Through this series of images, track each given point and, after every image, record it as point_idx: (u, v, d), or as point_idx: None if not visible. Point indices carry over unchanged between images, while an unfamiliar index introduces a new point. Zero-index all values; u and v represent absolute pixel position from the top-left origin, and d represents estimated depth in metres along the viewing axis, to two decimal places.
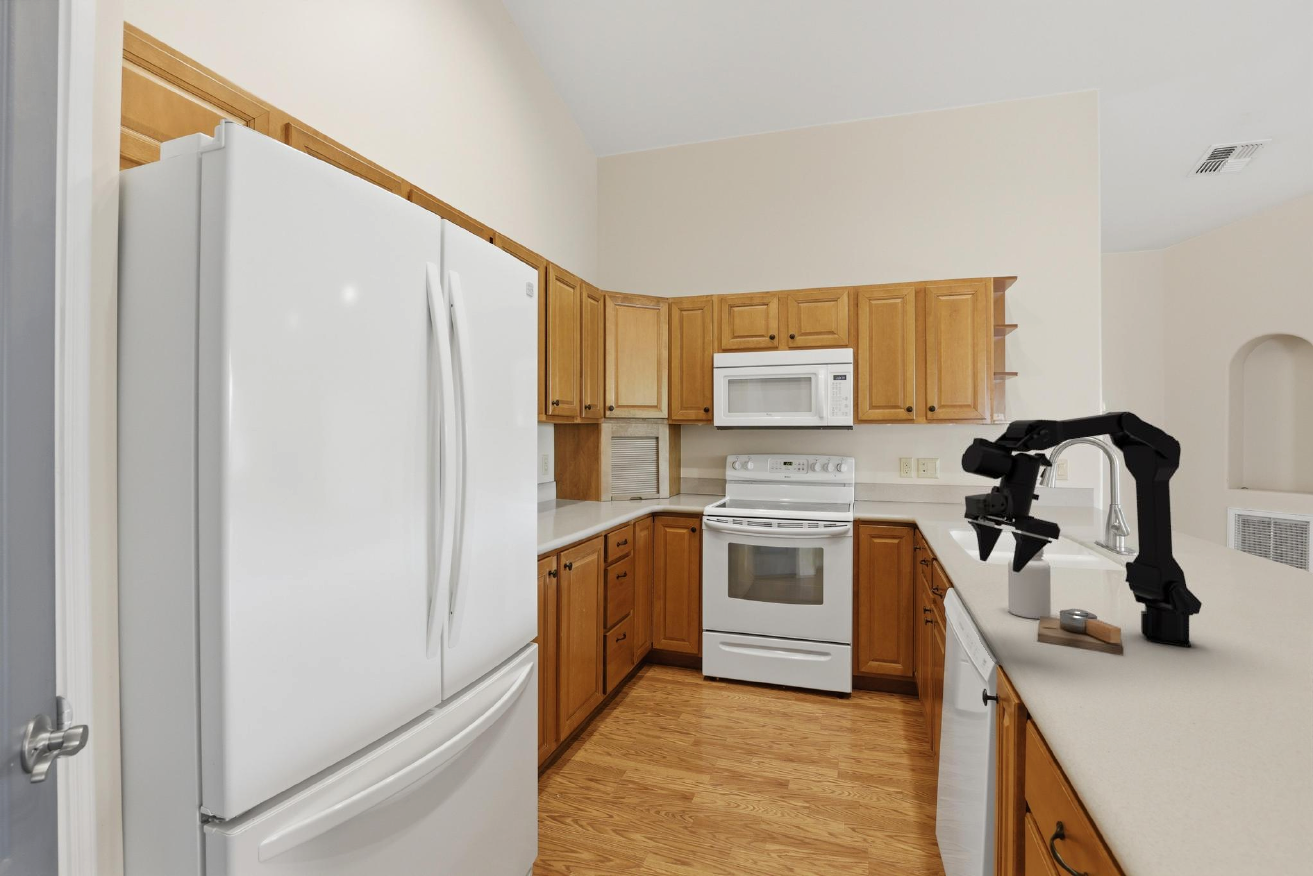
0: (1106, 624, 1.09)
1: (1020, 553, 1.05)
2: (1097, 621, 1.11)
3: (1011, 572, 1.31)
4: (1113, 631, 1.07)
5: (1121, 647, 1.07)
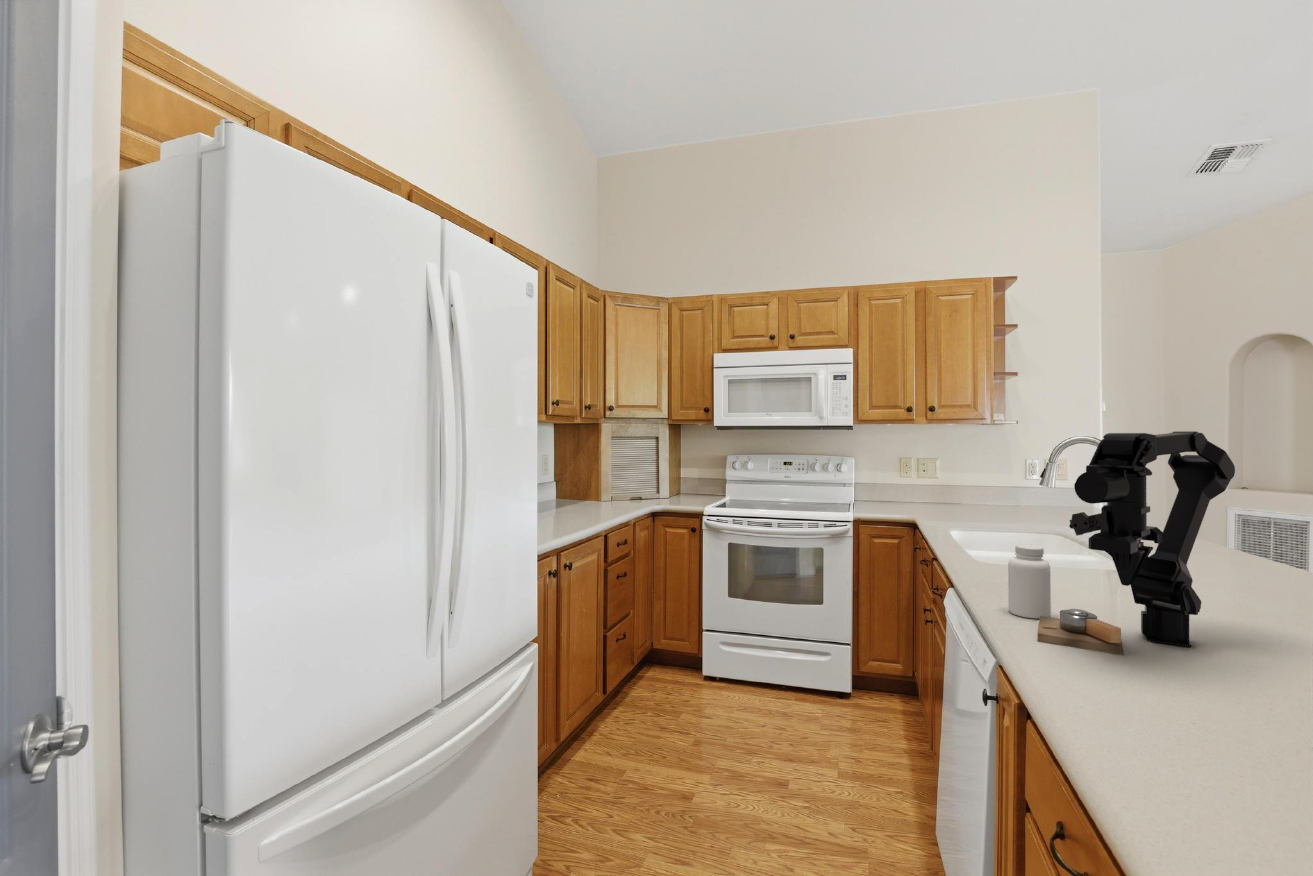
0: (1106, 624, 1.09)
1: (1117, 566, 1.09)
2: (1097, 621, 1.11)
3: (1011, 572, 1.31)
4: (1113, 631, 1.07)
5: (1121, 647, 1.07)
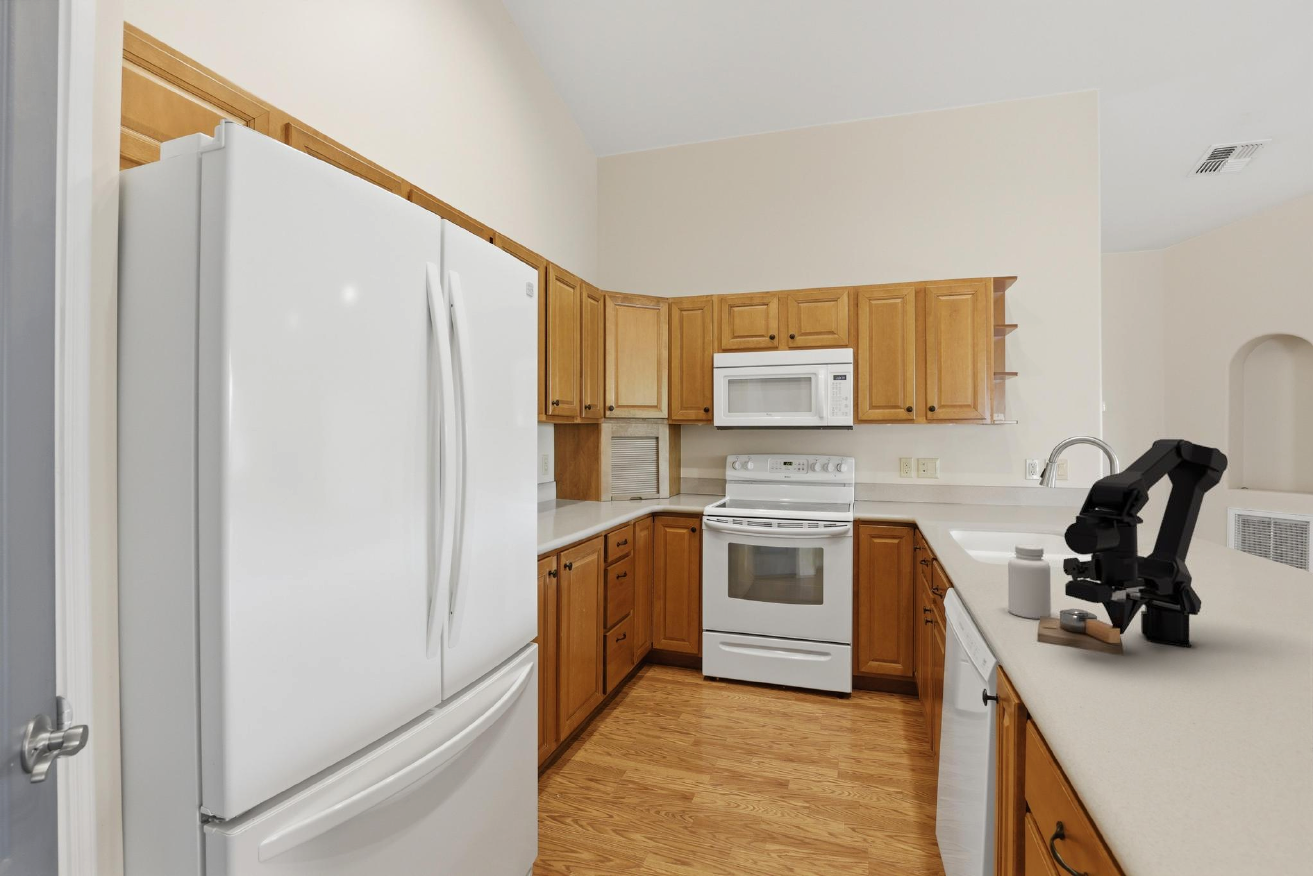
0: (1105, 624, 1.09)
1: (1109, 614, 1.09)
2: (1096, 621, 1.11)
3: (1011, 572, 1.31)
4: (1112, 631, 1.07)
5: (1121, 647, 1.07)
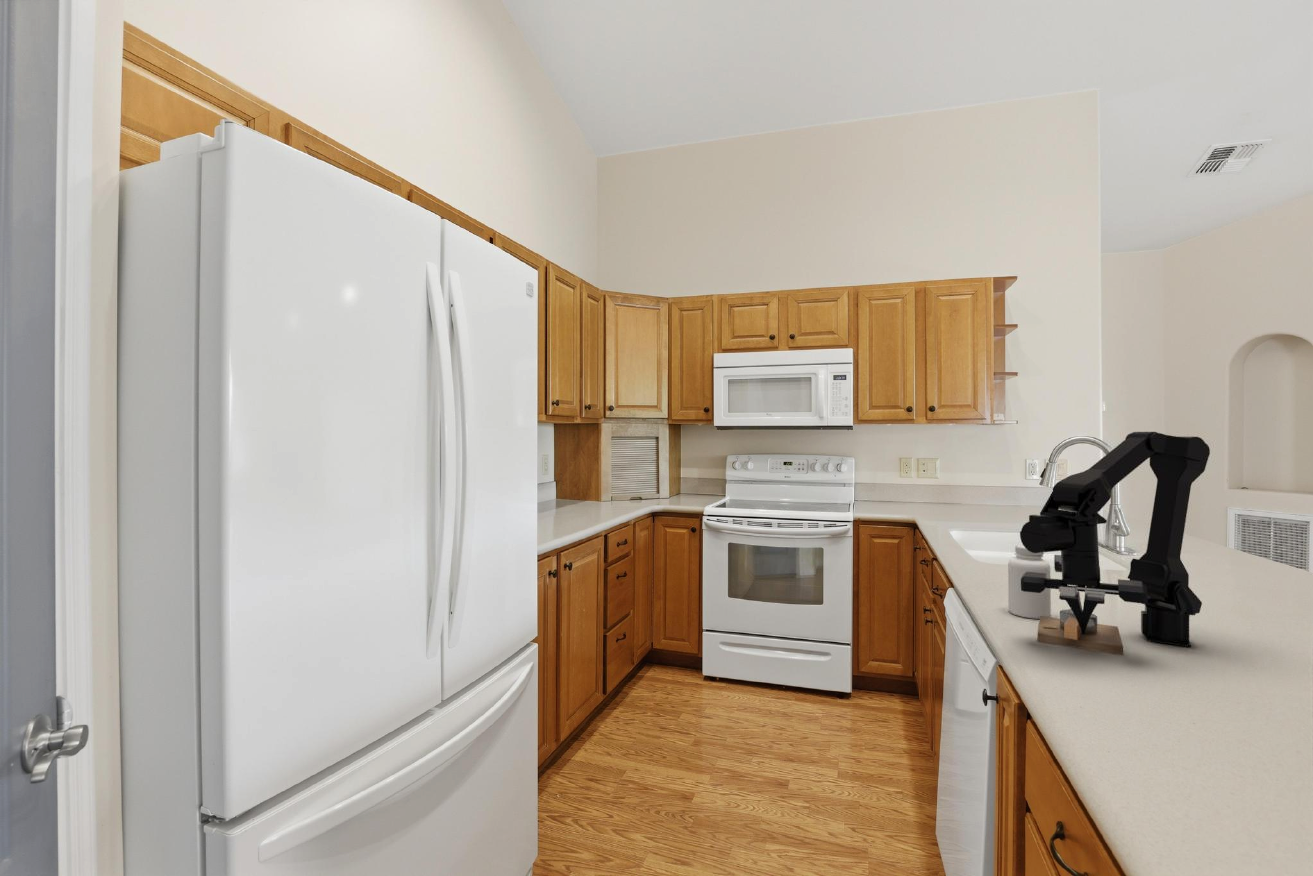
0: (1072, 622, 1.11)
1: None
2: (1074, 619, 1.13)
3: (1011, 572, 1.31)
4: (1067, 627, 1.10)
5: (1121, 647, 1.07)
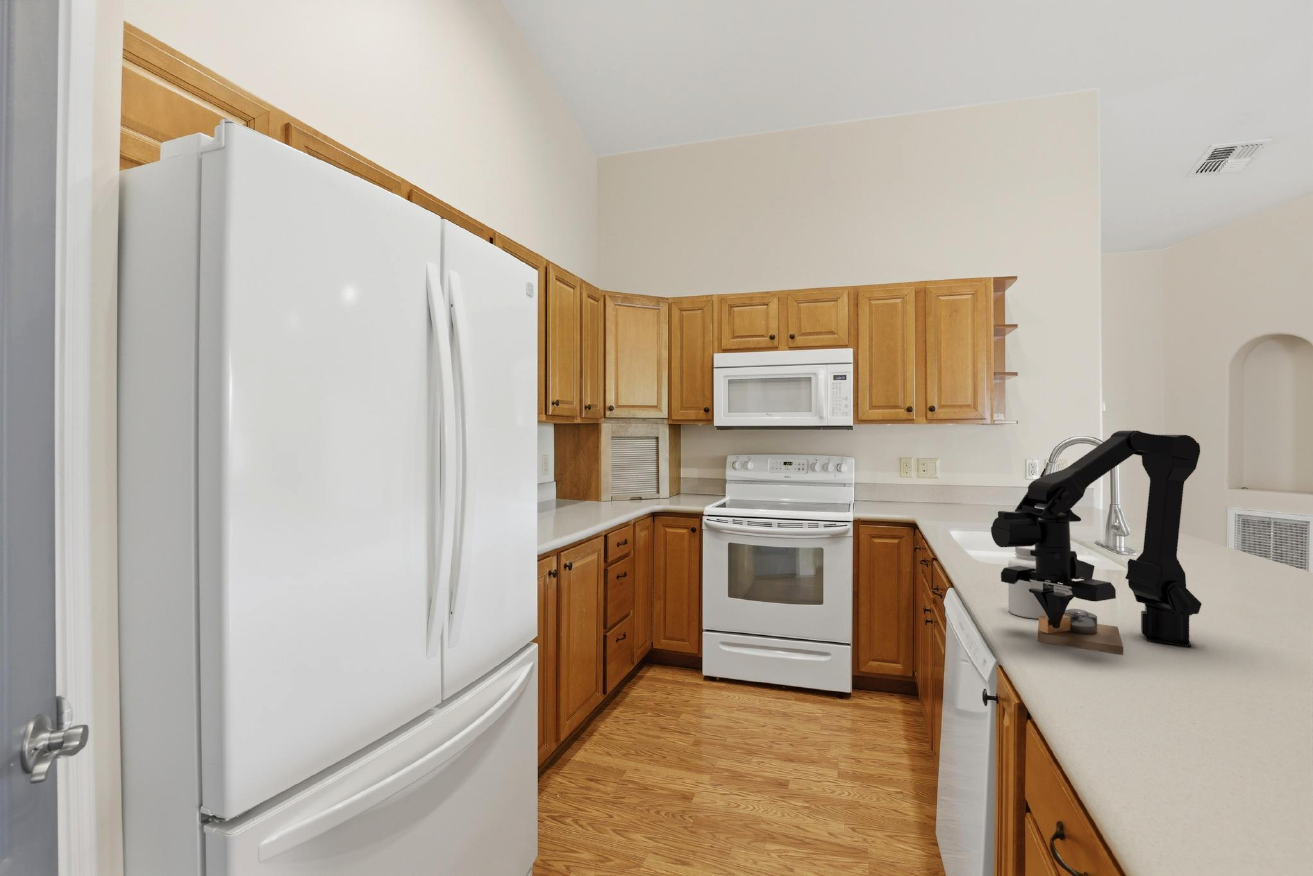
0: None
1: None
2: None
3: None
4: (1041, 620, 1.14)
5: (1121, 647, 1.07)
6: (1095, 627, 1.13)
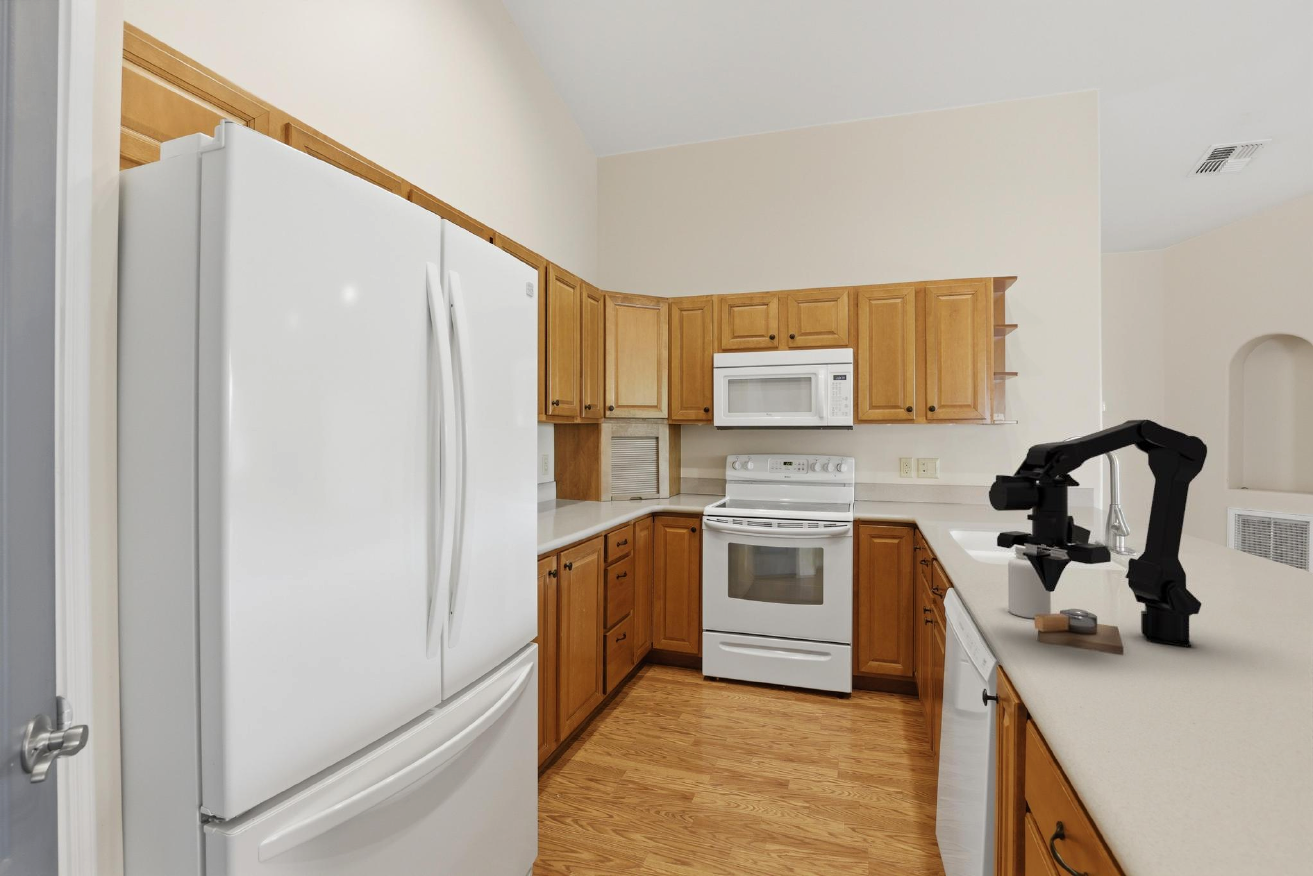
0: (1048, 615, 1.15)
1: None
2: (1057, 615, 1.15)
3: (1011, 572, 1.31)
4: (1036, 618, 1.15)
5: (1121, 647, 1.07)
6: (1094, 627, 1.13)
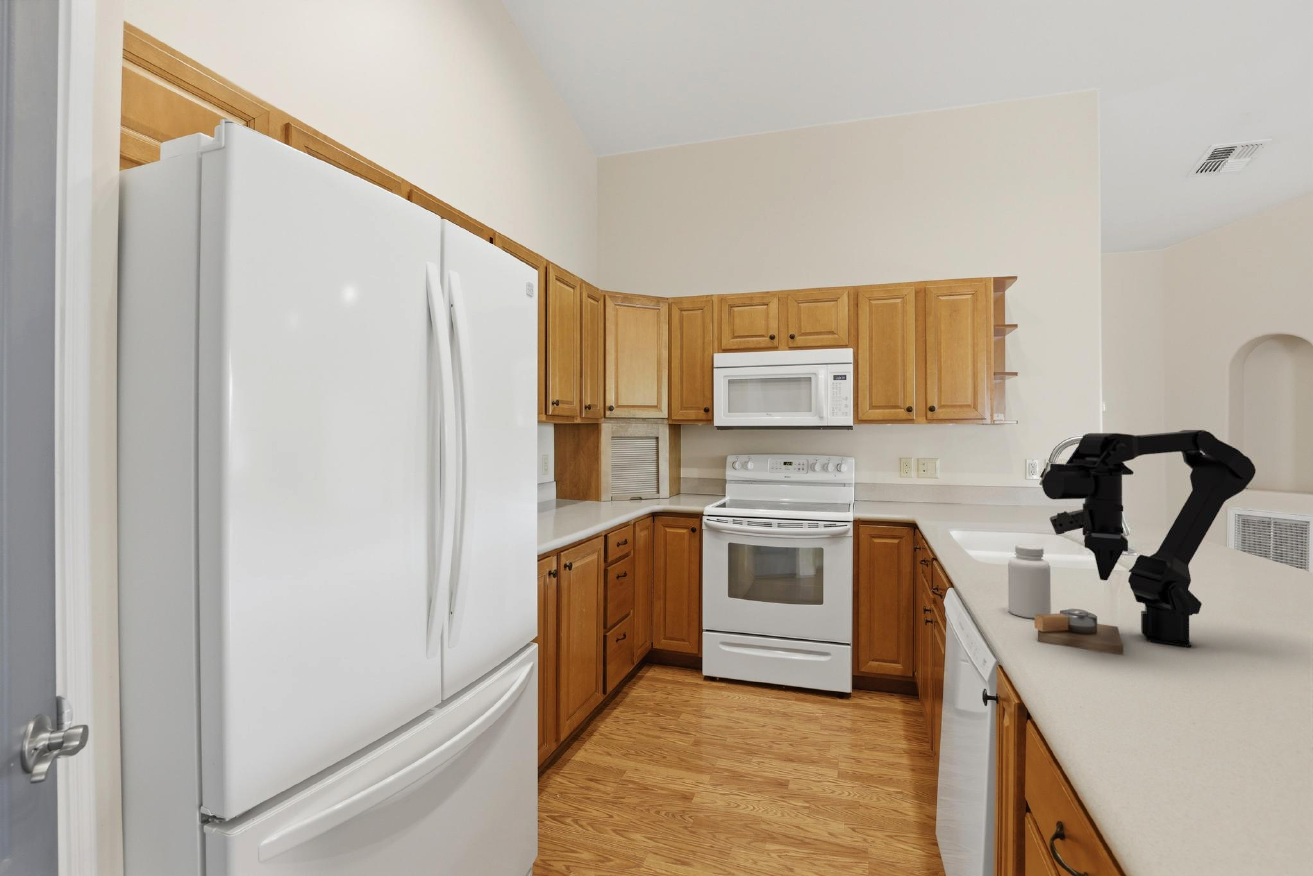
0: (1048, 615, 1.15)
1: (1098, 562, 1.12)
2: (1057, 615, 1.15)
3: (1011, 572, 1.31)
4: (1036, 618, 1.15)
5: (1121, 647, 1.07)
6: (1094, 627, 1.13)
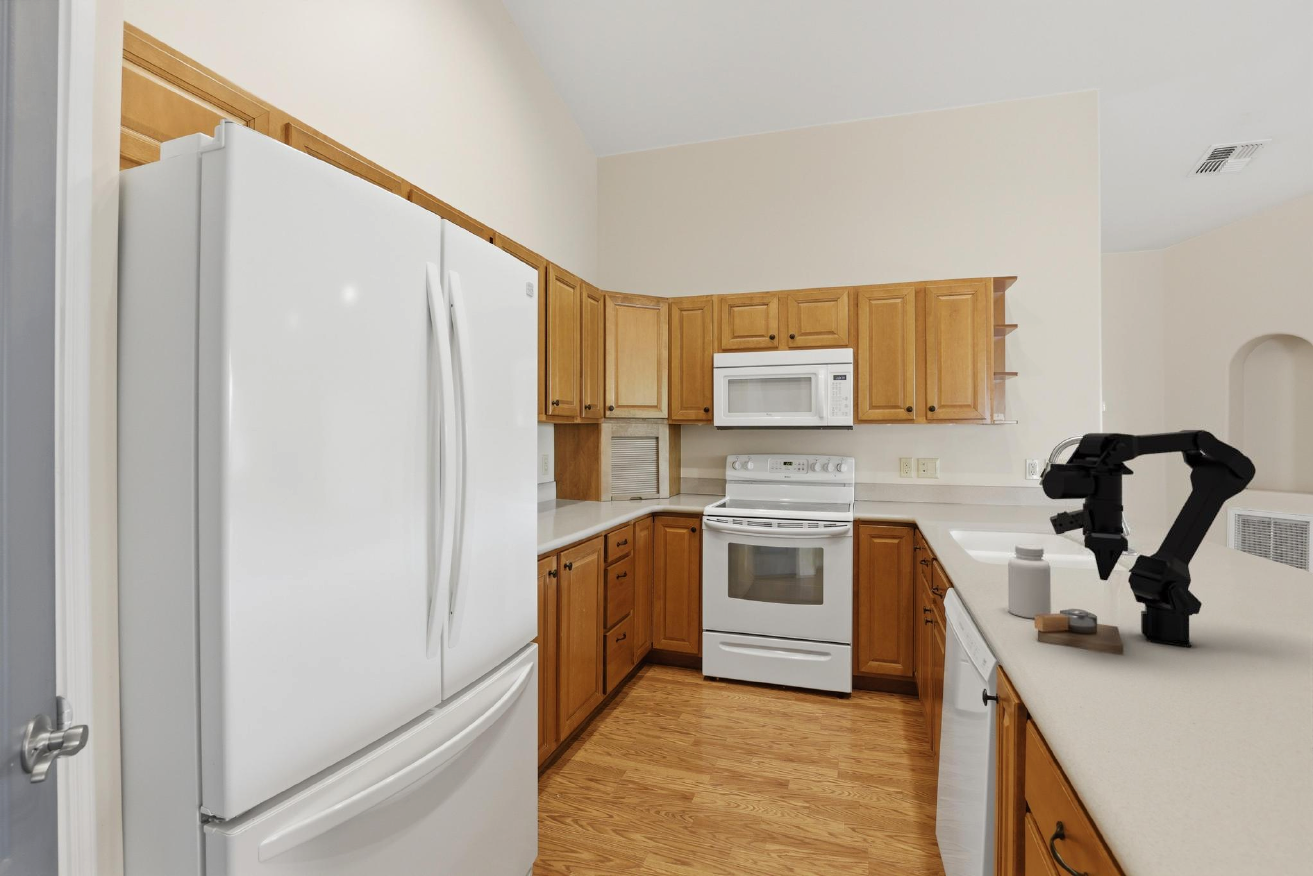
0: (1048, 615, 1.15)
1: (1098, 562, 1.12)
2: (1057, 615, 1.15)
3: (1011, 572, 1.31)
4: (1036, 618, 1.15)
5: (1121, 647, 1.07)
6: (1094, 627, 1.13)
